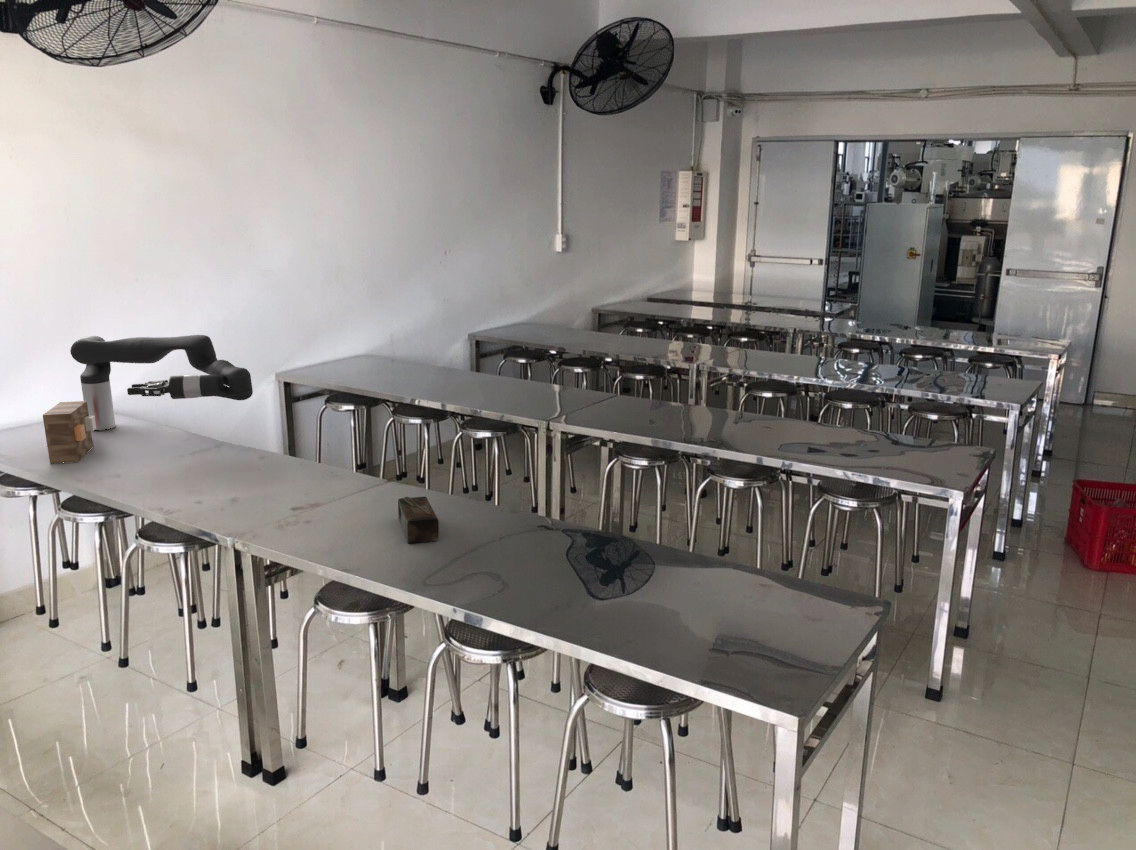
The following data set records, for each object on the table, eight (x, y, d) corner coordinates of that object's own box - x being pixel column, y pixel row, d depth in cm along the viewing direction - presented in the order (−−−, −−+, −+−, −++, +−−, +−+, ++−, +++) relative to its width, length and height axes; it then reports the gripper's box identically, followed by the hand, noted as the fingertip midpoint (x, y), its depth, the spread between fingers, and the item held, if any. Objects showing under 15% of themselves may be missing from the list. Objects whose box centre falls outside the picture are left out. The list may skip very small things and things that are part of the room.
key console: (67, 448, 300) (60, 402, 296) (93, 447, 302) (86, 400, 298) (50, 464, 283) (42, 414, 279) (77, 462, 285) (70, 413, 281)
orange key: (68, 438, 287) (67, 425, 286) (86, 437, 288) (84, 424, 287) (65, 441, 283) (63, 428, 282) (82, 440, 284) (80, 427, 283)
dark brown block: (428, 516, 239) (427, 492, 237) (440, 542, 221) (439, 517, 219) (398, 519, 236) (396, 495, 235) (407, 546, 218) (406, 520, 217)
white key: (79, 429, 298) (77, 416, 297) (96, 428, 299) (94, 415, 298) (76, 431, 295) (74, 418, 294) (93, 430, 296) (91, 418, 295)
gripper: (183, 403, 283) (125, 406, 280) (191, 393, 297) (136, 396, 293) (181, 379, 281) (122, 382, 278) (189, 371, 295) (133, 373, 291)
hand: (130, 389), depth 286 cm, fingers open, 5 cm apart
